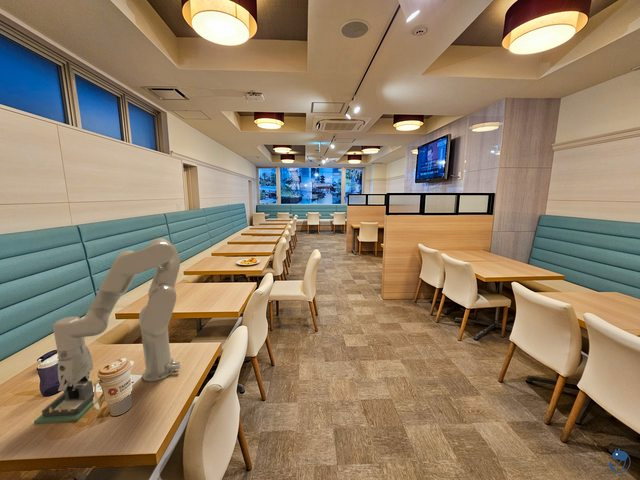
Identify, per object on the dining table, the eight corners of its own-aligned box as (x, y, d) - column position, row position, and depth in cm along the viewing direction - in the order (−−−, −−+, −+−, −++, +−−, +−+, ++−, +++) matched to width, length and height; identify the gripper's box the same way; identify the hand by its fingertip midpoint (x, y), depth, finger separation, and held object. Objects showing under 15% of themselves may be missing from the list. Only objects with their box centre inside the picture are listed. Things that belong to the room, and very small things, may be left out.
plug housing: (93, 391, 101) (91, 380, 100) (85, 399, 97) (83, 387, 96) (74, 393, 101) (72, 381, 100) (65, 401, 97) (63, 389, 96)
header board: (69, 392, 102) (68, 383, 102) (107, 390, 103) (105, 381, 103) (34, 423, 88) (32, 413, 88) (78, 420, 90) (76, 410, 89)
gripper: (62, 364, 88) (71, 411, 91) (100, 337, 104) (106, 378, 107) (38, 365, 87) (48, 412, 90) (80, 338, 104) (86, 379, 107)
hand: (79, 393), depth 99 cm, fingers closed on plug housing, 4 cm apart
